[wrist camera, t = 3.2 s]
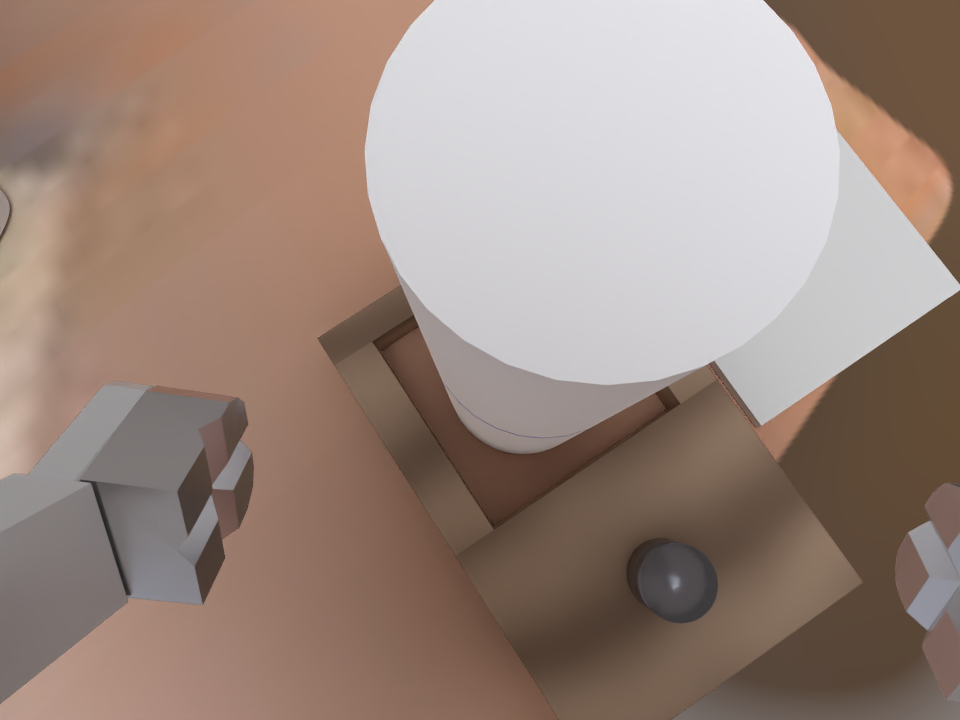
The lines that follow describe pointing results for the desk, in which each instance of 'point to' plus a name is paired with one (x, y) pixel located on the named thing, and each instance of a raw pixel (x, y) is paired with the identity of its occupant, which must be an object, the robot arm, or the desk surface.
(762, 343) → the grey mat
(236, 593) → the desk surface
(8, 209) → the robot arm
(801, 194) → the cylindrical container
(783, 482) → the walnut board
